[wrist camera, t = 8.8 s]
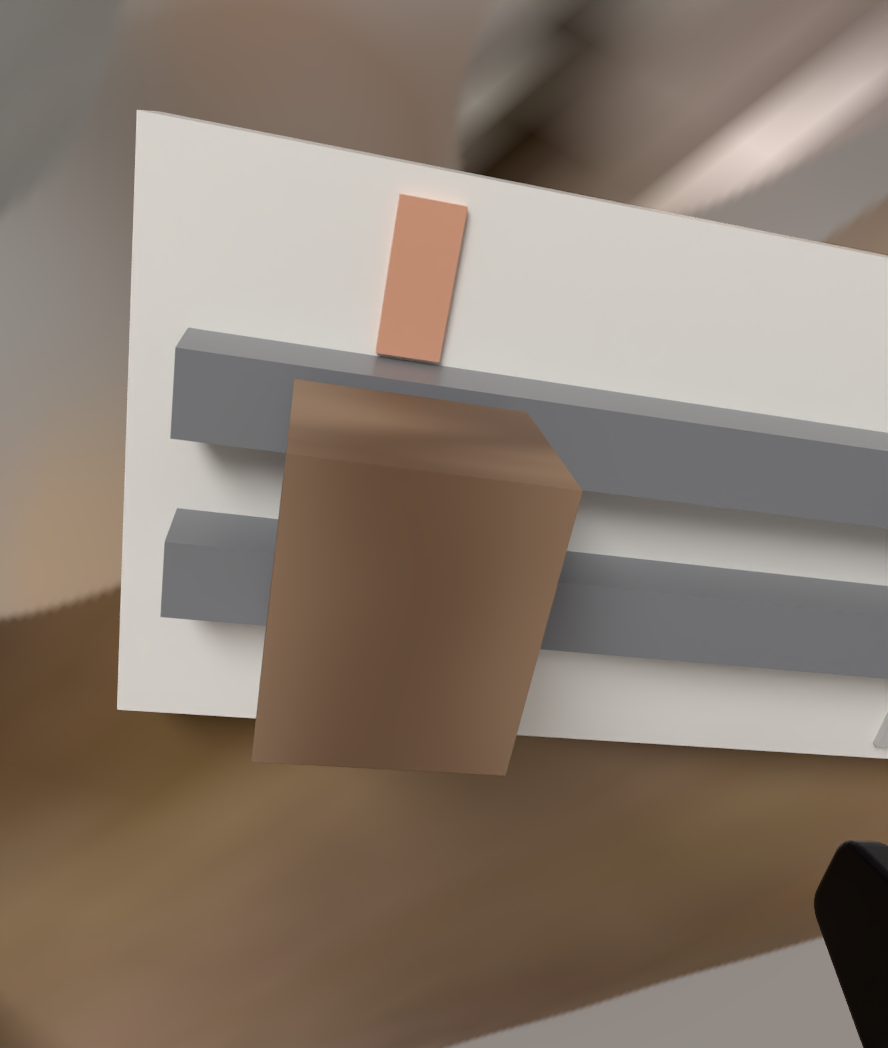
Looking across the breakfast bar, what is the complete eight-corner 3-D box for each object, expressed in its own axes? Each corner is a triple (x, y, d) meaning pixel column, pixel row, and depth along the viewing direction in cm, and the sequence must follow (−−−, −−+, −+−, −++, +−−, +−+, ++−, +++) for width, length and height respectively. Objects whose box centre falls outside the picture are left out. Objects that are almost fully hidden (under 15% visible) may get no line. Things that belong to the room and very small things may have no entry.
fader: (507, 384, 16) (583, 490, 12) (458, 608, 18) (505, 775, 14) (296, 353, 15) (286, 454, 11) (269, 590, 17) (251, 761, 13)
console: (1203, 318, 20) (1366, 353, 17) (983, 721, 25) (1078, 808, 22) (158, 111, 15) (116, 109, 12) (134, 657, 20) (101, 755, 17)
